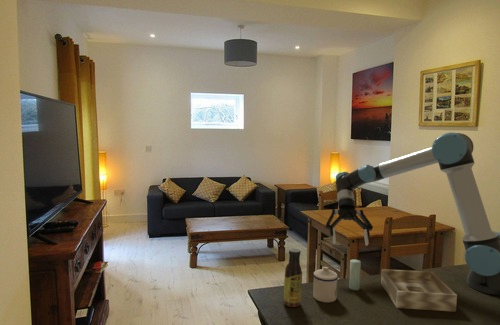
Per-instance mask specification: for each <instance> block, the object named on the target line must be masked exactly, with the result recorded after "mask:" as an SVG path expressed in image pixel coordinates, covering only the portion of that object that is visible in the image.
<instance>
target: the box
mask: <svg viewBox="0 0 500 325" xmlns="http://www.w3.org/2000/svg"><path fill="white" fill-rule="evenodd" d="M380 276H381V277H380V280H381V281H380V283H381V285H382V287H383V289H384V290H385V292H386V293H387V295H388V296H389V298H390V300H391V301H392V303H393V304H394V306H395V307H396V308H397V309H409V310H410V309H411V310H412V309H413V310H425V311H427V310H428V311H441V312H442V311H443V312H457V299H458V294H457V293H456V292H454V291H453V289H451V288H450V287H449V285H447V284H446V283H445V282H444V281H443V280H442V279H441V278H440V277H439V276H438V275H436V274H435V272H434V271H421V270H406V269H405V270H404V269H387V268H386V269H385V268H382V269H381V275H380Z"/></svg>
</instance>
